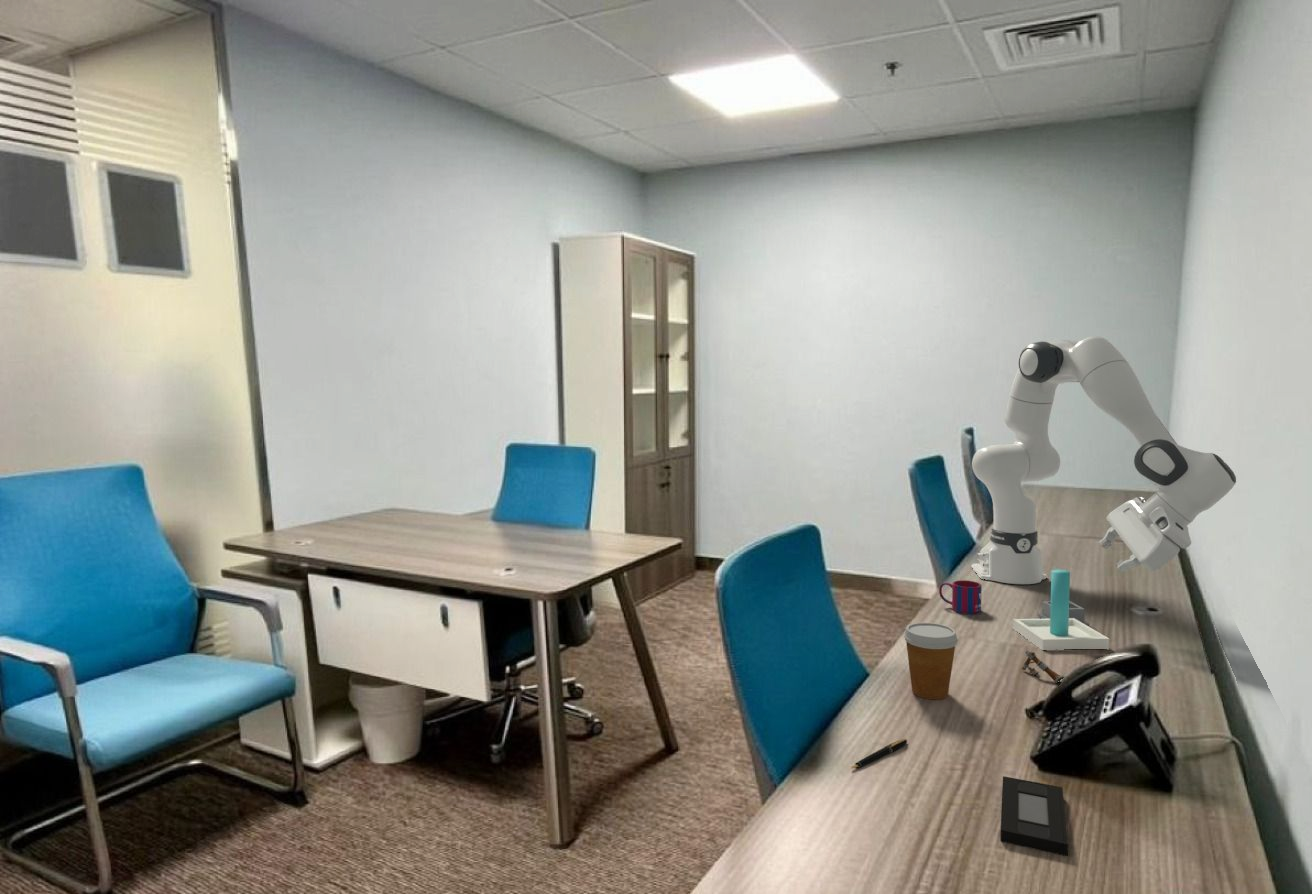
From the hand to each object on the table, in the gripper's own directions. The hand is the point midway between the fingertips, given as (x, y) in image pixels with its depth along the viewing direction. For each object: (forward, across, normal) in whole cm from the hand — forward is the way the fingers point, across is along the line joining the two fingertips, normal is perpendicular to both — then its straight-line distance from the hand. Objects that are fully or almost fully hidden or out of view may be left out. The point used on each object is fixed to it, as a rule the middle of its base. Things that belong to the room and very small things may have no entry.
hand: (1110, 557), depth 172 cm
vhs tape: (+18, +82, -38) cm, 92 cm away
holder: (+19, 0, +6) cm, 20 cm away
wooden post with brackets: (+20, +34, -15) cm, 42 cm away
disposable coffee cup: (+32, +44, -34) cm, 64 cm away
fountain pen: (+33, +68, -49) cm, 90 cm away
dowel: (+18, +12, -2) cm, 21 cm away
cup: (+35, -7, -9) cm, 37 cm away
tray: (+19, +12, -1) cm, 22 cm away
